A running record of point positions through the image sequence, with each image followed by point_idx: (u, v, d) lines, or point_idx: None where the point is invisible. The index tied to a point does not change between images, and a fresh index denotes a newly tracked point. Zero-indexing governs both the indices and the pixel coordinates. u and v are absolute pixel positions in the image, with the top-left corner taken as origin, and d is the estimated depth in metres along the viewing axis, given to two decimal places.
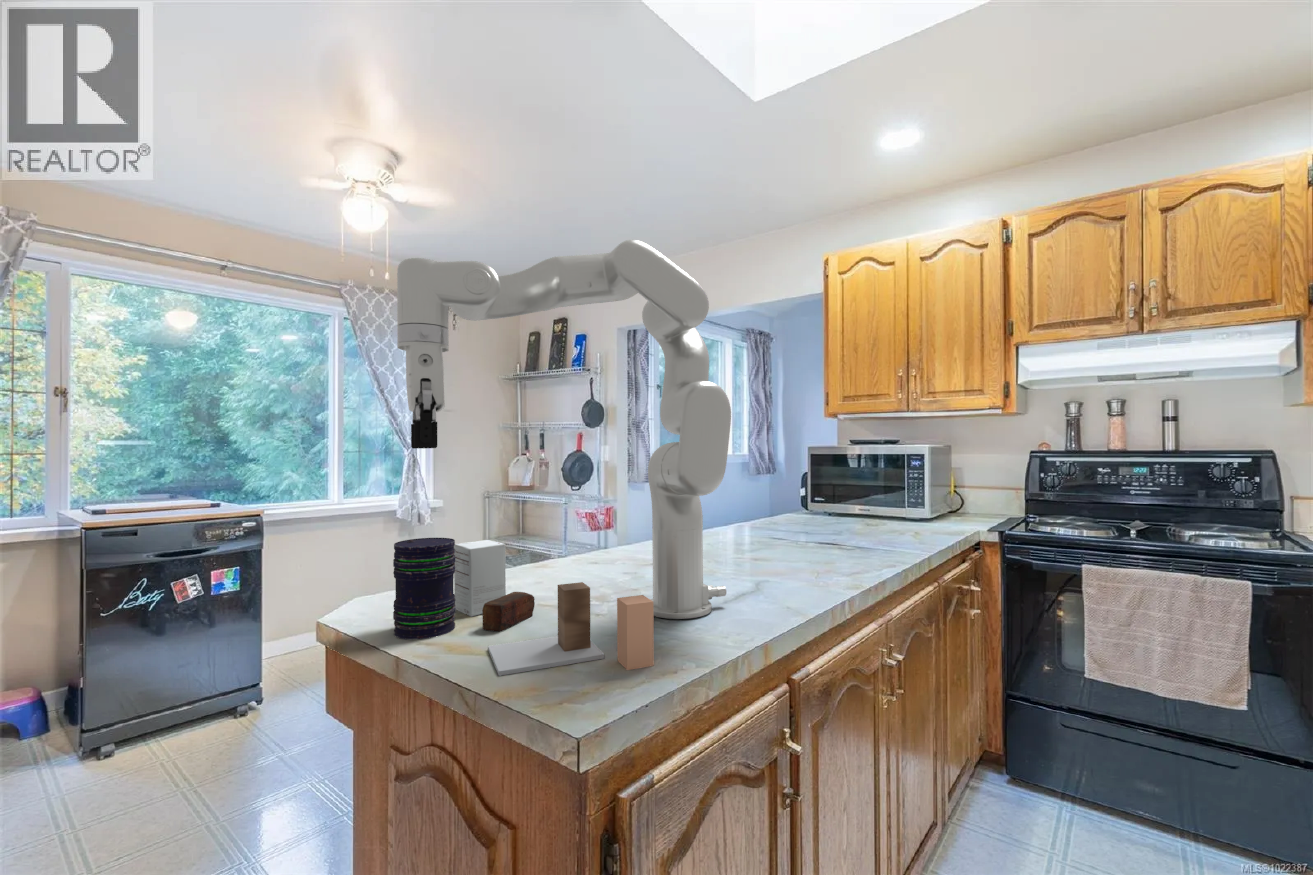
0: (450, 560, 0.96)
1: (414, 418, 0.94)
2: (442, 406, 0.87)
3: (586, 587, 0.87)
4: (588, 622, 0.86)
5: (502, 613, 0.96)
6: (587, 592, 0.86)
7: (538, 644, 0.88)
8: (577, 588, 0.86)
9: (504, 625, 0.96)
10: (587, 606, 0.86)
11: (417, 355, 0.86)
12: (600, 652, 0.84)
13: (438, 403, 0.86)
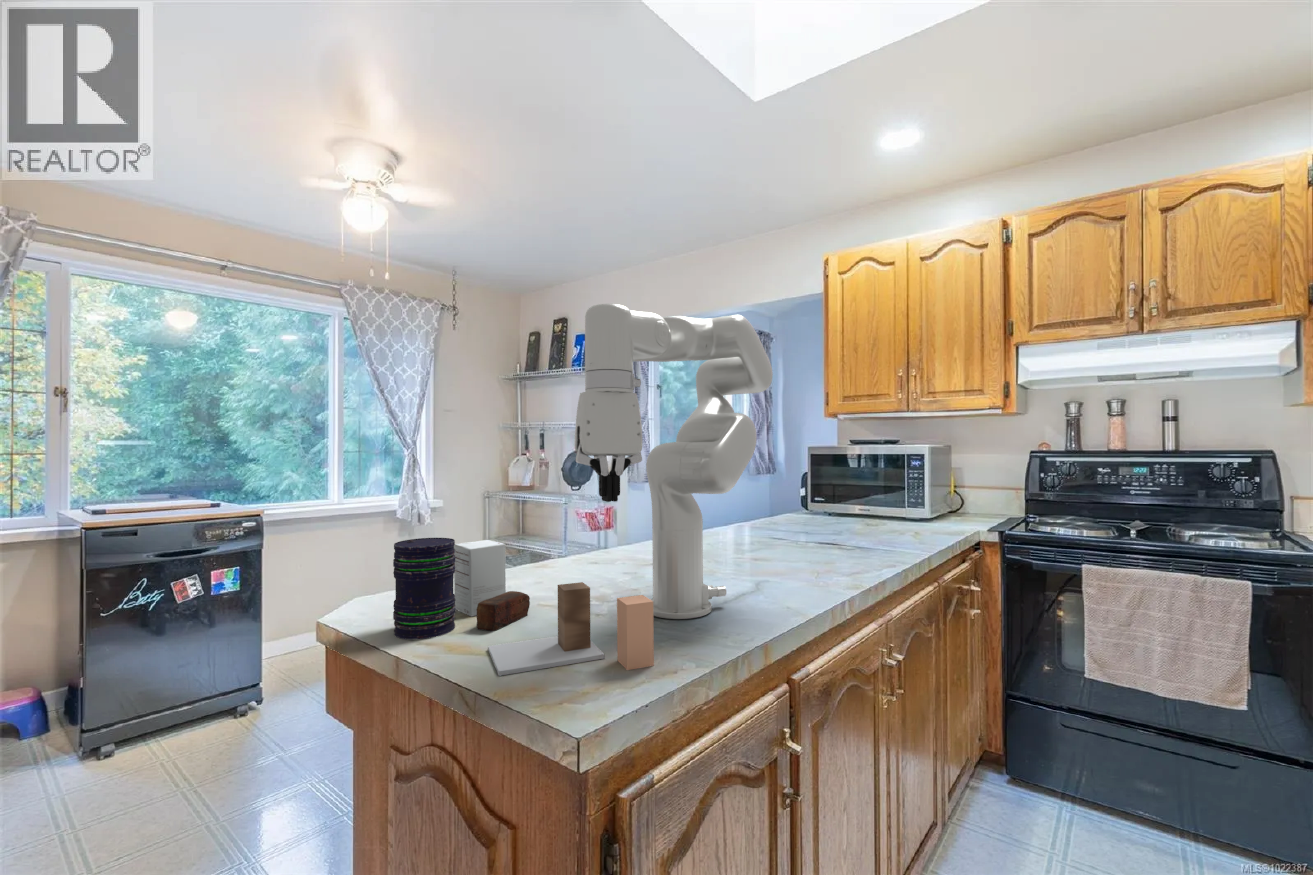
0: (450, 560, 0.96)
1: None
2: None
3: (586, 587, 0.87)
4: (588, 622, 0.86)
5: (496, 612, 0.96)
6: (587, 592, 0.86)
7: (538, 644, 0.88)
8: (577, 588, 0.86)
9: (498, 625, 0.97)
10: (587, 606, 0.86)
11: None
12: (600, 652, 0.84)
13: None
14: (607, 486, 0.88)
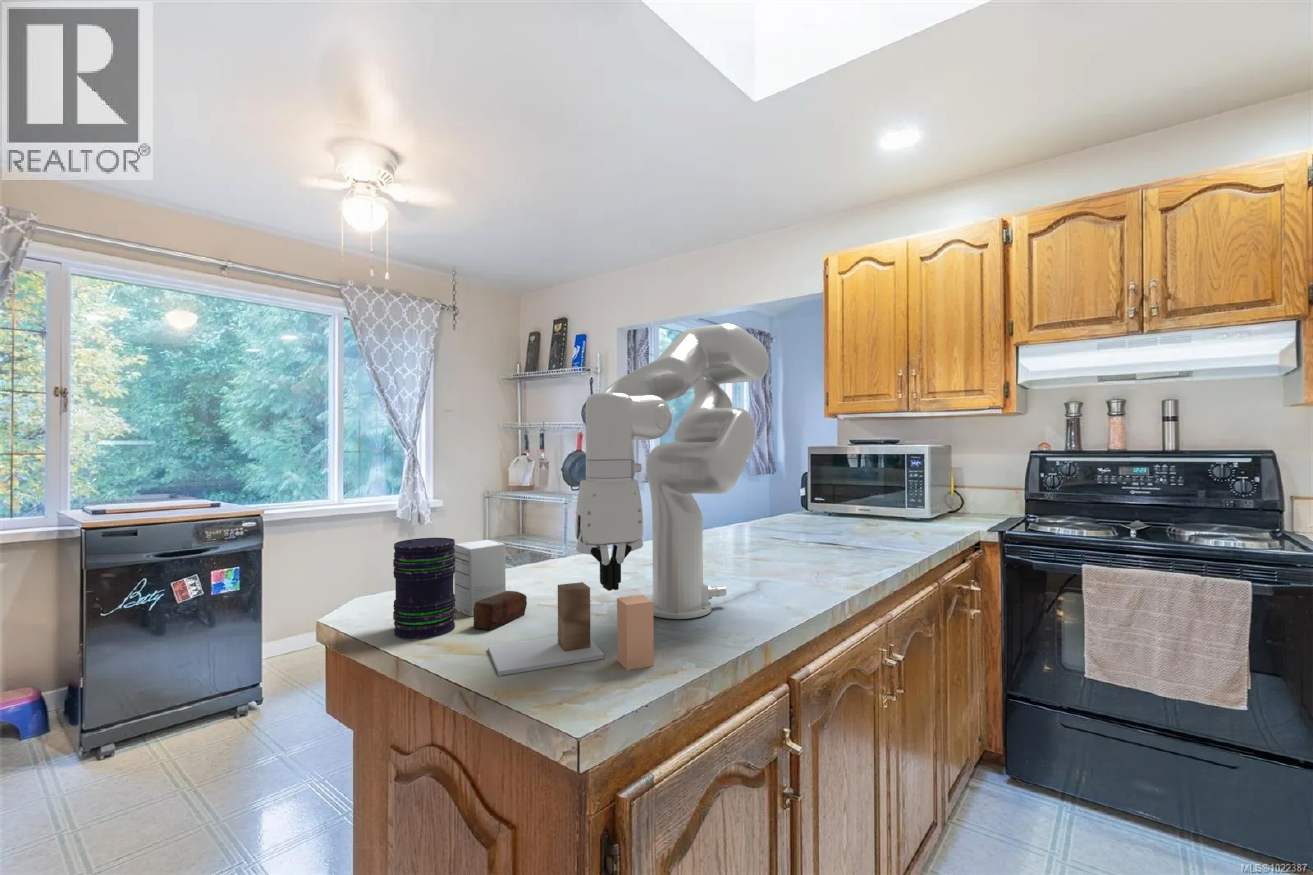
0: (450, 560, 0.96)
1: None
2: None
3: (586, 587, 0.87)
4: (588, 622, 0.86)
5: (493, 612, 0.97)
6: (587, 592, 0.86)
7: (538, 644, 0.88)
8: (577, 588, 0.86)
9: (495, 624, 0.97)
10: (587, 606, 0.86)
11: None
12: (600, 652, 0.84)
13: None
14: (608, 575, 0.88)
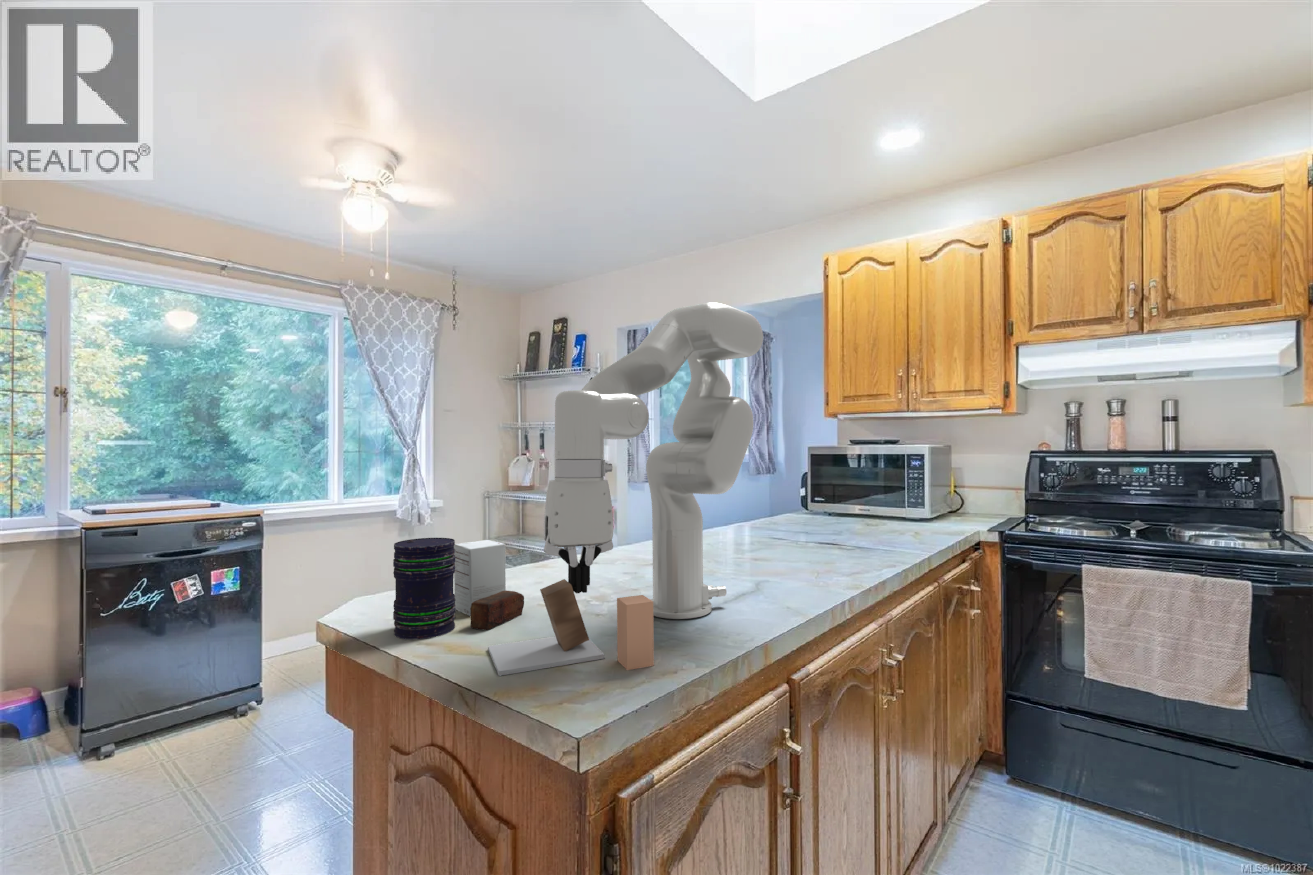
0: (450, 560, 0.96)
1: (576, 556, 0.86)
2: None
3: (567, 585, 0.85)
4: (579, 617, 0.86)
5: (490, 612, 0.97)
6: (569, 589, 0.85)
7: (538, 644, 0.88)
8: (558, 589, 0.85)
9: (491, 624, 0.97)
10: (574, 602, 0.85)
11: None
12: (600, 652, 0.84)
13: None
14: (576, 577, 0.86)
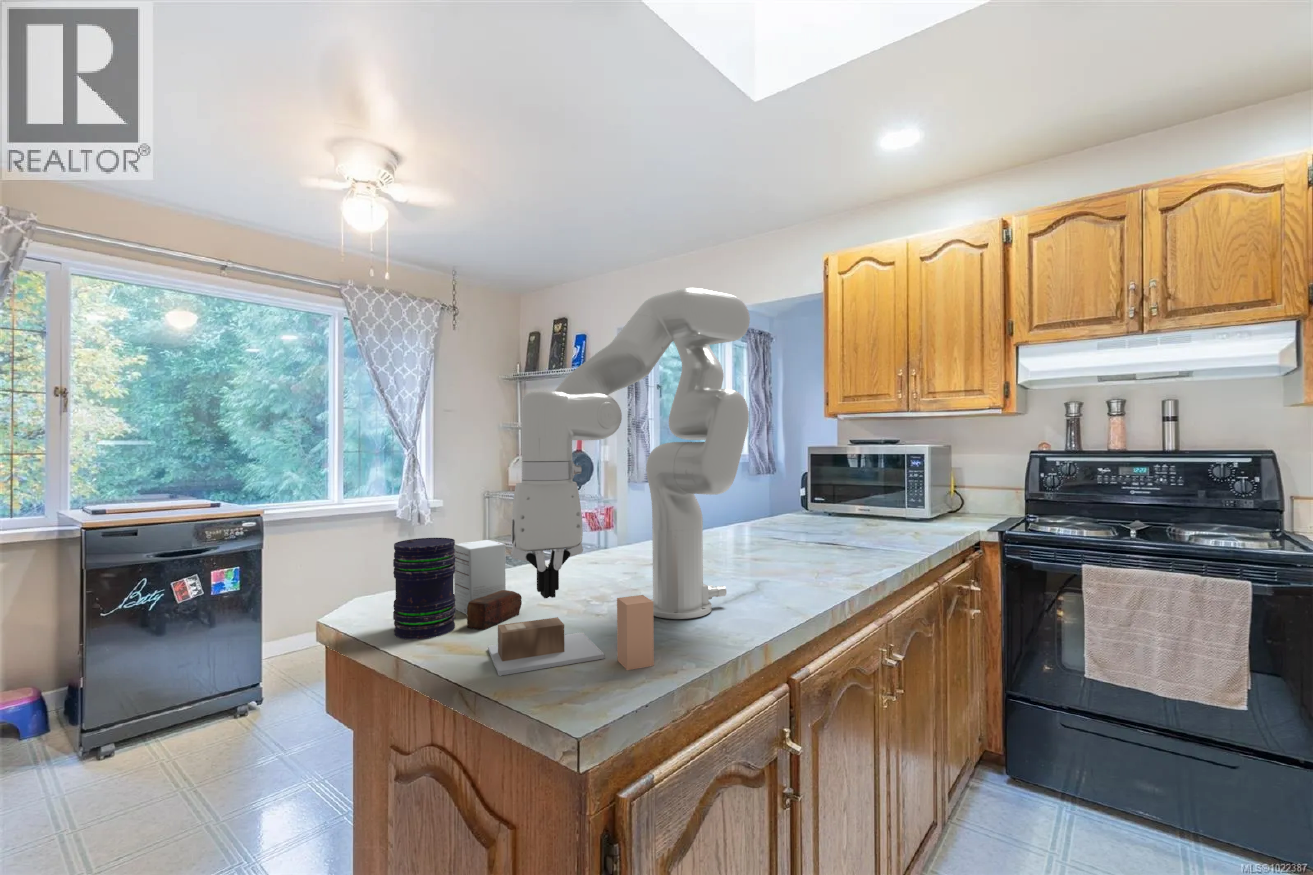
0: (450, 560, 0.96)
1: (544, 560, 0.84)
2: None
3: (501, 635, 0.81)
4: (538, 630, 0.83)
5: (486, 611, 0.97)
6: (506, 635, 0.81)
7: None
8: (501, 645, 0.81)
9: (488, 623, 0.98)
10: (521, 633, 0.82)
11: (578, 494, 0.87)
12: (600, 652, 0.84)
13: None
14: (544, 582, 0.84)
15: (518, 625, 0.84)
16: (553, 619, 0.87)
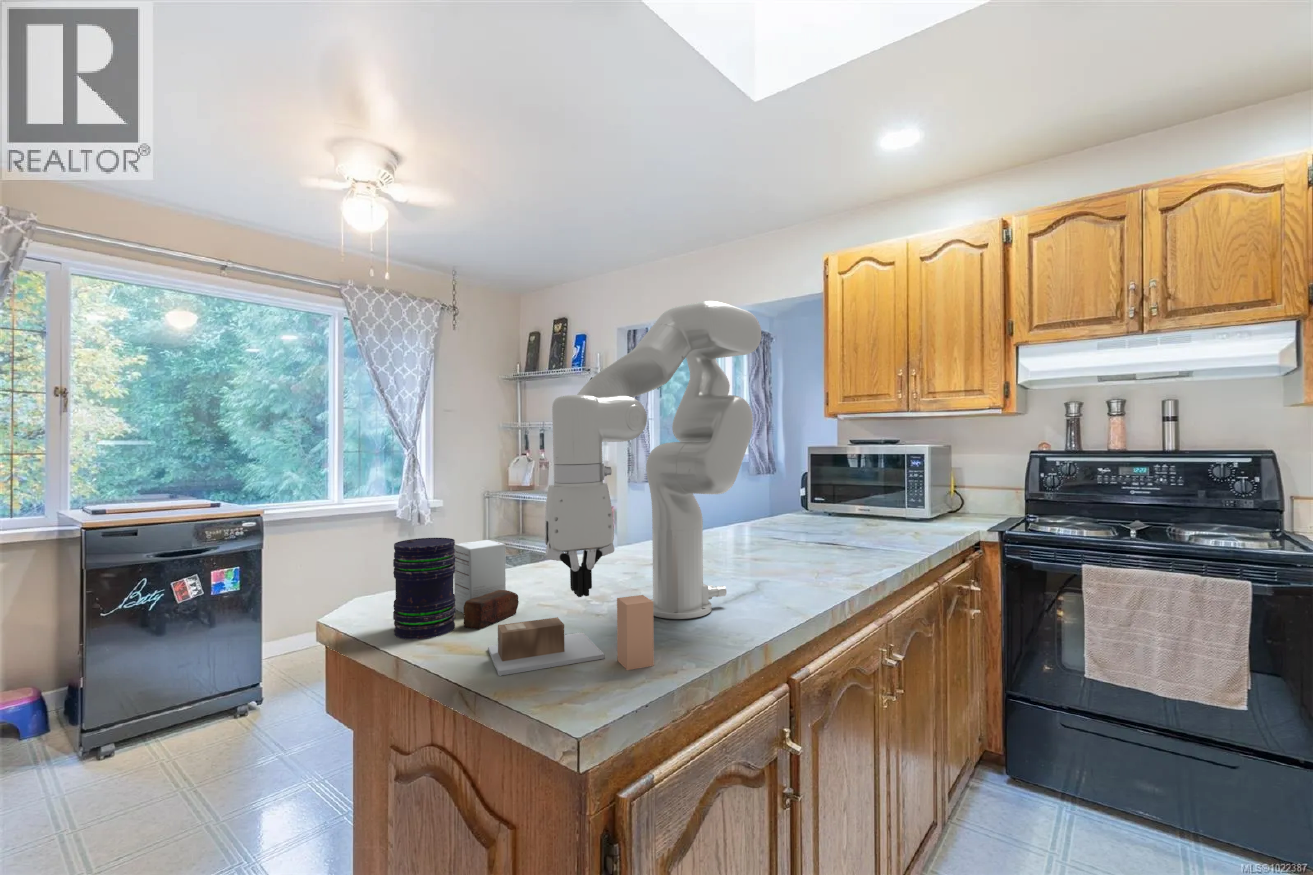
0: (450, 560, 0.96)
1: (577, 560, 0.87)
2: None
3: (501, 635, 0.81)
4: (538, 630, 0.83)
5: (482, 611, 0.97)
6: (506, 635, 0.81)
7: None
8: (501, 645, 0.81)
9: (484, 623, 0.98)
10: (521, 633, 0.82)
11: (609, 495, 0.89)
12: (600, 652, 0.84)
13: None
14: (578, 581, 0.87)
15: (518, 625, 0.84)
16: (553, 619, 0.87)
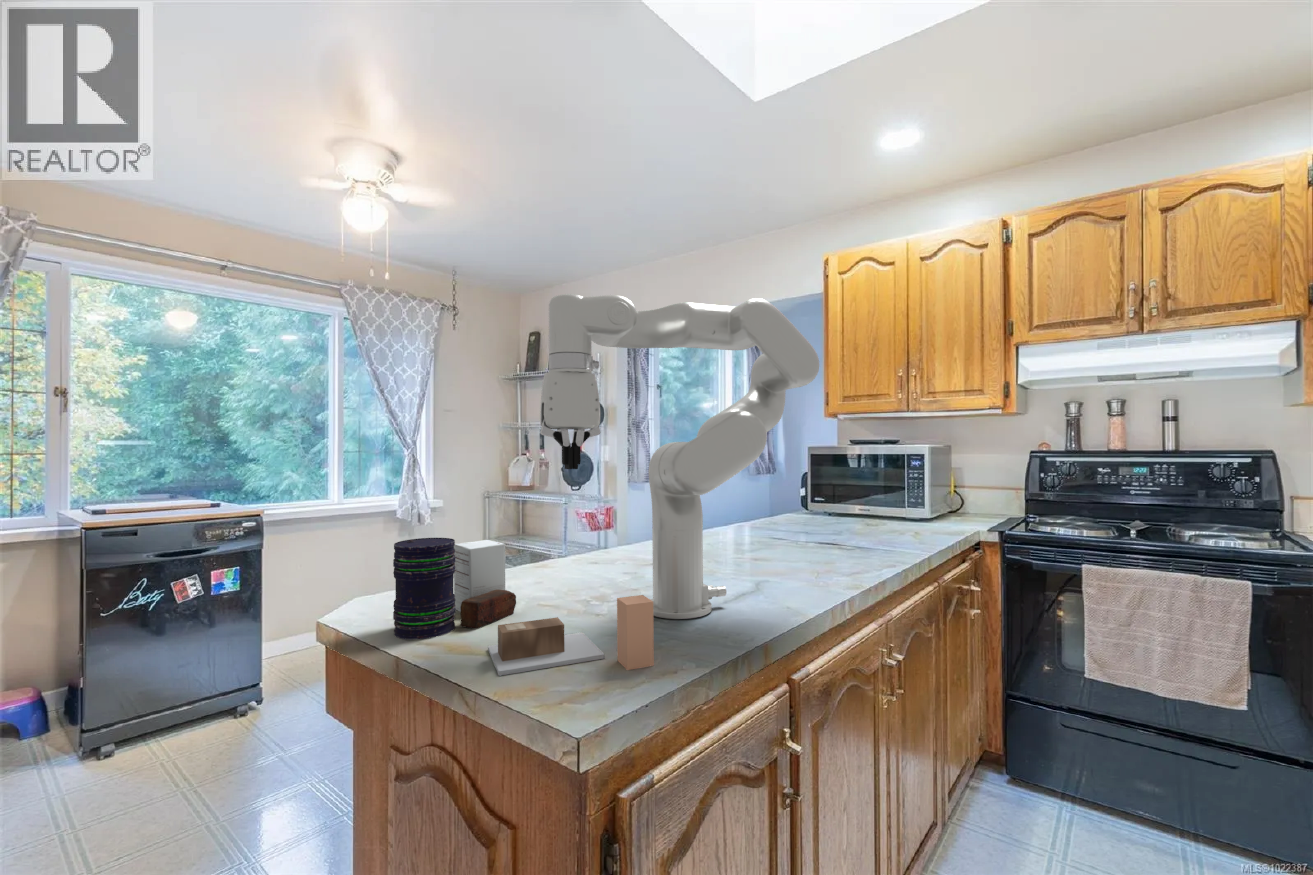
0: (450, 560, 0.96)
1: (568, 437, 1.00)
2: None
3: (501, 635, 0.81)
4: (538, 630, 0.83)
5: (479, 610, 0.98)
6: (506, 635, 0.81)
7: None
8: (501, 645, 0.81)
9: (481, 622, 0.98)
10: (521, 633, 0.82)
11: None
12: (600, 652, 0.84)
13: None
14: (568, 455, 1.00)
15: (518, 625, 0.84)
16: (553, 619, 0.87)
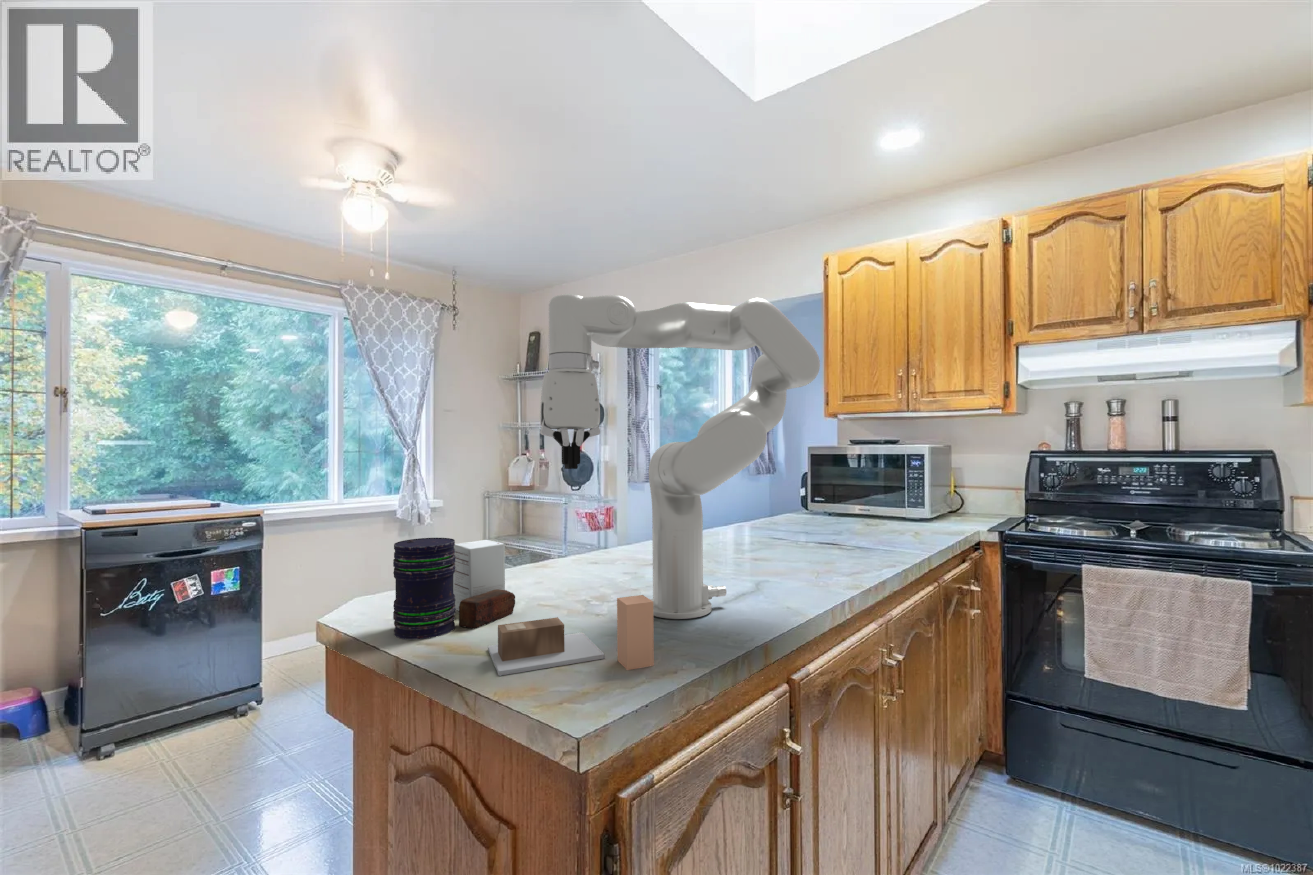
0: (450, 560, 0.96)
1: None
2: None
3: (501, 635, 0.81)
4: (538, 630, 0.83)
5: (477, 610, 0.98)
6: (506, 635, 0.81)
7: None
8: (501, 645, 0.81)
9: (479, 622, 0.98)
10: (521, 633, 0.82)
11: None
12: (600, 652, 0.84)
13: None
14: (568, 455, 1.00)
15: (518, 625, 0.84)
16: (553, 619, 0.87)
